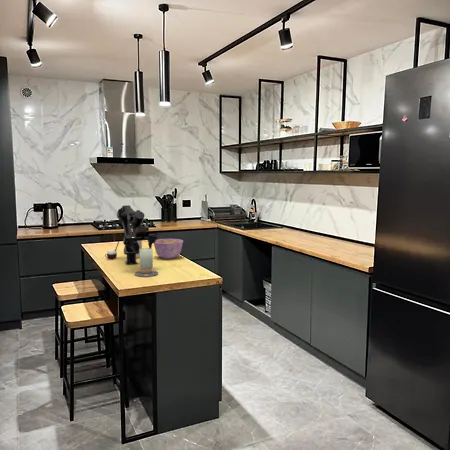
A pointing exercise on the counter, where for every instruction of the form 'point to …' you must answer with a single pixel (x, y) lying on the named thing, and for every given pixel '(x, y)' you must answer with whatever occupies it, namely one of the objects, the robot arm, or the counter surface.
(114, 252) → the cocoa
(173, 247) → the bowl of food
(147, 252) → the white cylinder
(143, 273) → the cup on gray saucer
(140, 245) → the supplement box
